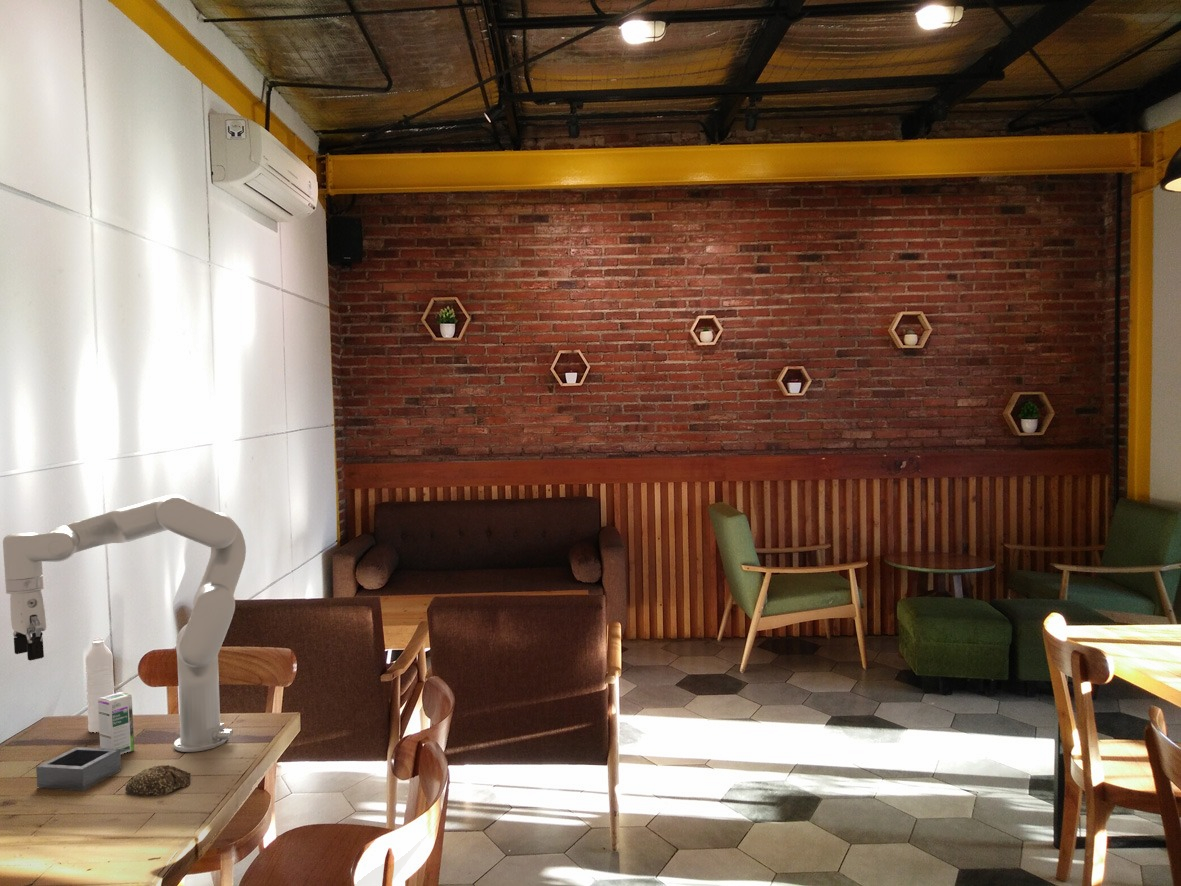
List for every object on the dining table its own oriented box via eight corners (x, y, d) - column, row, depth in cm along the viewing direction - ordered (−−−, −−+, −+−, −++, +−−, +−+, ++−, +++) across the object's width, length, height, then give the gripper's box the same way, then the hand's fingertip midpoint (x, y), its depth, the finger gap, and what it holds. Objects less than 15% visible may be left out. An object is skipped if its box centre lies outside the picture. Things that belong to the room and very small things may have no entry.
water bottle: (89, 727, 239) (85, 637, 238) (116, 723, 242) (112, 634, 241) (87, 737, 231) (83, 644, 231) (114, 732, 234) (111, 641, 234)
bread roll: (117, 794, 195) (116, 772, 195) (161, 773, 207) (160, 752, 207) (161, 801, 191) (160, 779, 191) (203, 779, 203) (203, 758, 202)
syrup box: (112, 758, 216) (110, 700, 216) (99, 754, 219) (97, 697, 219) (134, 750, 221) (132, 694, 221) (121, 746, 224) (119, 690, 224)
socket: (120, 769, 209) (119, 749, 209) (83, 790, 197) (82, 769, 197) (76, 767, 211) (76, 747, 211) (37, 788, 199) (36, 766, 199)
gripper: (54, 585, 204) (59, 657, 204) (30, 578, 215) (35, 646, 216) (17, 591, 198) (22, 665, 199) (-5, 583, 210) (-1, 654, 210)
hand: (29, 655), depth 207 cm, fingers open, 9 cm apart
